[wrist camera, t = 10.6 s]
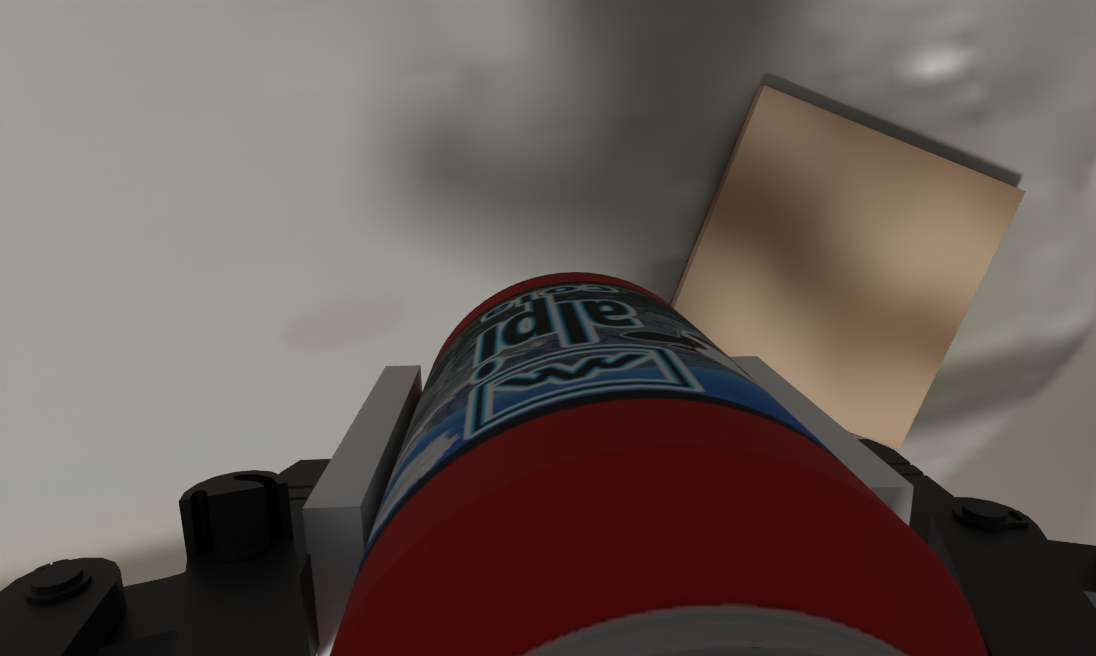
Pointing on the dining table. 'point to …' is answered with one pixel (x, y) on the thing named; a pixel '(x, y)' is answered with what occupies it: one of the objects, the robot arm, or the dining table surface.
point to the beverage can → (629, 504)
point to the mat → (842, 260)
